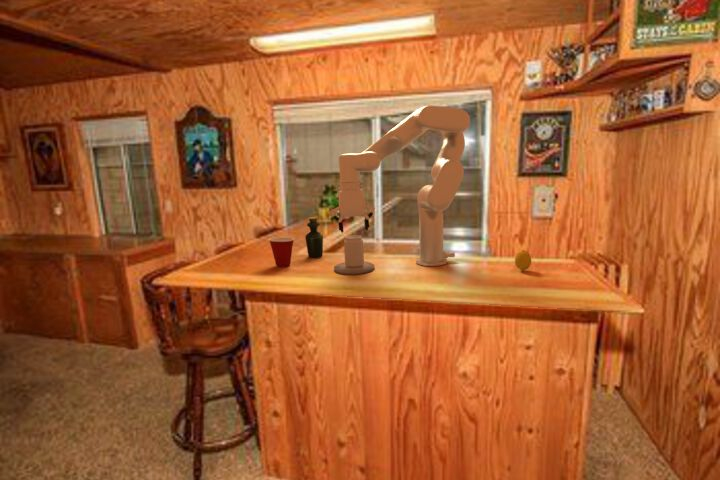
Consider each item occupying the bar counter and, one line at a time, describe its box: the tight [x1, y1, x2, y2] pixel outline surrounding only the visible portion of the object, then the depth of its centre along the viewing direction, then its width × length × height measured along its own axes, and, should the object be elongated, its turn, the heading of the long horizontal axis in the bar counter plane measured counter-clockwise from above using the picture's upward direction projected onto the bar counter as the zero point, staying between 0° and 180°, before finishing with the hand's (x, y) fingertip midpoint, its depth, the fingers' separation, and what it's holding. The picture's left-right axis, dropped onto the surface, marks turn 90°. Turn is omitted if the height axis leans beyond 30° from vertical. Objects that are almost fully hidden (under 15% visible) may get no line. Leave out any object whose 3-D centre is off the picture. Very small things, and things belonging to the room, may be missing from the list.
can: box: [343, 234, 365, 268], centre depth 154 cm, size 8×8×12 cm
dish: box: [333, 261, 375, 276], centre depth 155 cm, size 16×16×1 cm
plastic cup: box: [268, 236, 295, 268], centre depth 164 cm, size 11×11×12 cm
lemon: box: [514, 249, 532, 272], centre depth 142 cm, size 6×6×8 cm
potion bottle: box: [304, 216, 324, 259], centre depth 177 cm, size 8×8×18 cm
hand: (354, 230), depth 152 cm, fingers open, 9 cm apart
